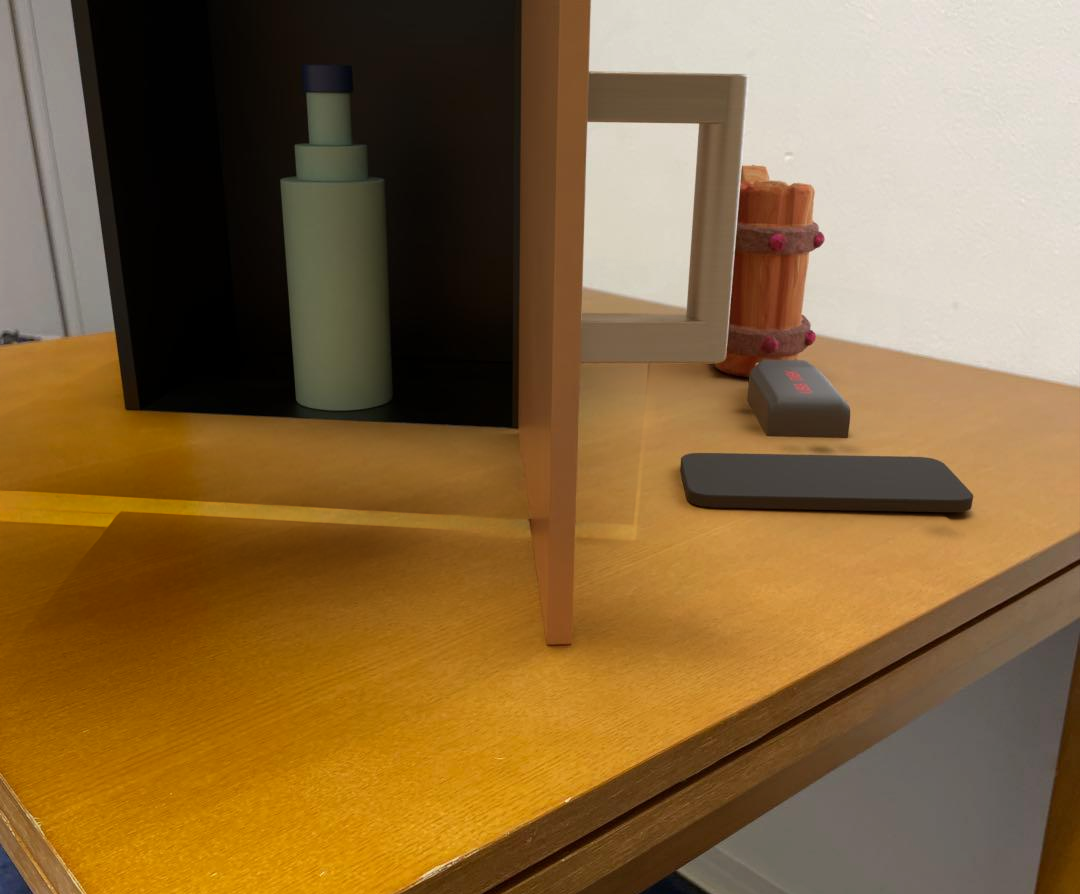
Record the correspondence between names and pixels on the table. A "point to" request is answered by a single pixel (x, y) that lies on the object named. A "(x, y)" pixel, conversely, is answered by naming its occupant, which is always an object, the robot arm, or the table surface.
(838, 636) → the table surface
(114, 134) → the box
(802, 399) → the grey rounded block
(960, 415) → the table surface
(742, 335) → the mug
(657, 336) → the fridge door
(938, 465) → the phone
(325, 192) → the bottle
